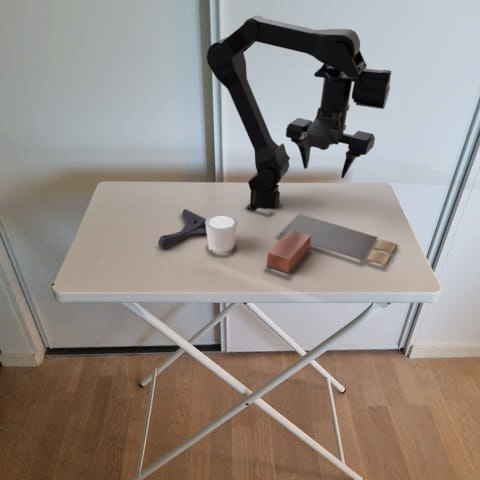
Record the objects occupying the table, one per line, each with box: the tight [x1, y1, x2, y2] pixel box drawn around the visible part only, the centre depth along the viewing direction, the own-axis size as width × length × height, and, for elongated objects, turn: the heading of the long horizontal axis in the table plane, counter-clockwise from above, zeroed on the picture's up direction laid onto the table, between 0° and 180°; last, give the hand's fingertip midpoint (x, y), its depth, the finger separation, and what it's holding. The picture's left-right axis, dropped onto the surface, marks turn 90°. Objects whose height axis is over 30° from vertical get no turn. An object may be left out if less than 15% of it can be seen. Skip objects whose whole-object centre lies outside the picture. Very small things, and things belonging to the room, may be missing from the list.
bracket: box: [157, 208, 207, 250], centre depth 106 cm, size 14×15×3 cm
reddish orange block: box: [266, 229, 311, 275], centre depth 99 cm, size 5×11×5 cm, turn 150°
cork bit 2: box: [366, 249, 391, 266], centre depth 101 cm, size 4×4×2 cm
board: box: [279, 213, 378, 261], centre depth 107 cm, size 20×11×1 cm, turn 60°
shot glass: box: [205, 213, 238, 253], centre depth 101 cm, size 7×7×7 cm
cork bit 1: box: [374, 238, 398, 255], centre depth 104 cm, size 4×4×2 cm
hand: (323, 173), depth 106 cm, fingers open, 9 cm apart
